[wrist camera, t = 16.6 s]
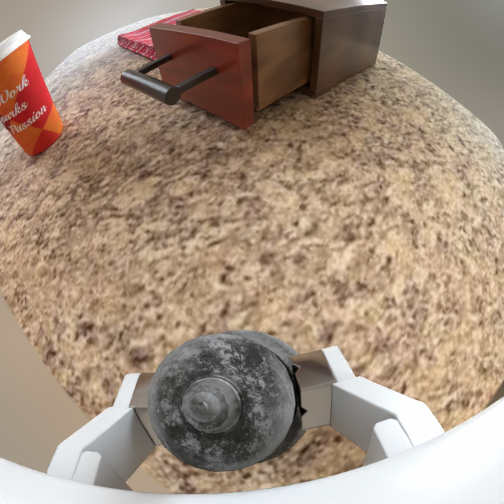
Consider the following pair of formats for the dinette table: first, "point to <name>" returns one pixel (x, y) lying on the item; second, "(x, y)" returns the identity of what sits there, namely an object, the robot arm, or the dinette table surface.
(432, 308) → the dinette table surface
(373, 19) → the cabinet
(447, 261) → the dinette table surface
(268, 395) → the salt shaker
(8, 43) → the paper cup
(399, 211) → the dinette table surface
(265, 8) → the drawer
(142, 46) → the dish towel
